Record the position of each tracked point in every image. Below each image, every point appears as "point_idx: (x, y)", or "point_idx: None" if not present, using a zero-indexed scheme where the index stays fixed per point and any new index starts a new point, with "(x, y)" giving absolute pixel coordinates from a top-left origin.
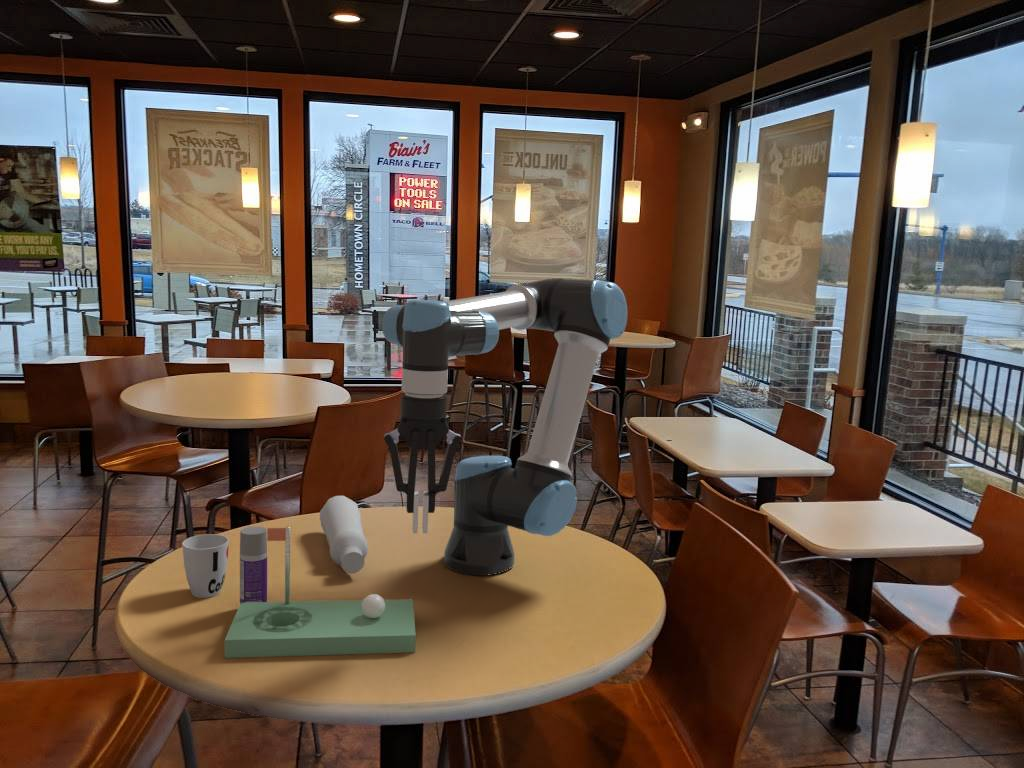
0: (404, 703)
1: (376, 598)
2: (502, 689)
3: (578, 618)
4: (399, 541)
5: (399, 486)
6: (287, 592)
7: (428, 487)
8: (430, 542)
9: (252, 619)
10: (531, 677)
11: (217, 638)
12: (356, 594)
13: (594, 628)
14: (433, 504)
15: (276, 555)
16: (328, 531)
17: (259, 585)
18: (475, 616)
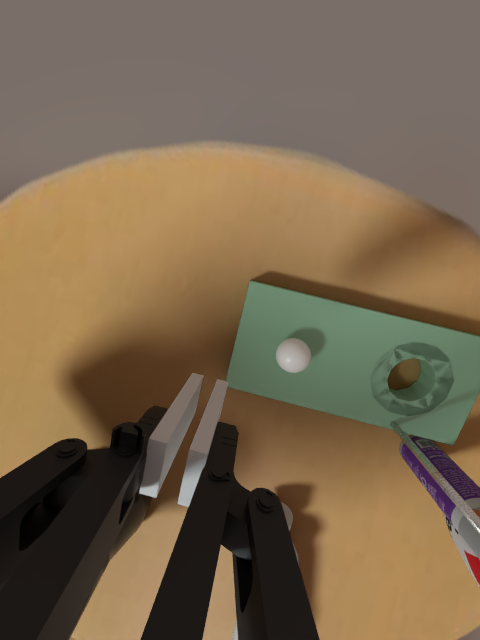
0: (298, 157)
1: (292, 352)
2: (172, 155)
3: (28, 306)
4: None
5: (269, 510)
6: (403, 432)
7: (131, 470)
8: (151, 563)
9: (451, 391)
10: (129, 174)
11: None
12: (281, 451)
13: (16, 274)
14: (143, 423)
15: (352, 585)
16: None
17: (439, 463)
18: (151, 349)
